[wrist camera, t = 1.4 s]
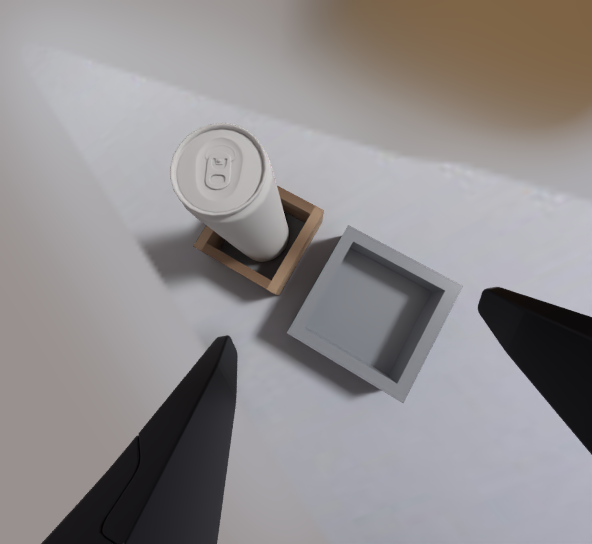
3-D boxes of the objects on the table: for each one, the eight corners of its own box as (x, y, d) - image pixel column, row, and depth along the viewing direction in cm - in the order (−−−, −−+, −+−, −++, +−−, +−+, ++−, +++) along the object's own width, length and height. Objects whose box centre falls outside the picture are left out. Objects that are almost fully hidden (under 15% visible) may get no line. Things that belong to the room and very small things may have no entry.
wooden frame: (279, 295, 22) (275, 294, 19) (208, 253, 23) (193, 246, 20) (321, 222, 23) (323, 210, 20) (250, 184, 24) (242, 167, 21)
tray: (389, 388, 20) (403, 403, 18) (289, 328, 22) (286, 332, 19) (441, 288, 21) (462, 285, 18) (342, 235, 22) (348, 225, 19)
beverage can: (291, 214, 23) (273, 120, 11) (288, 264, 22) (266, 220, 10) (242, 213, 23) (173, 119, 11) (237, 261, 23) (160, 216, 11)
